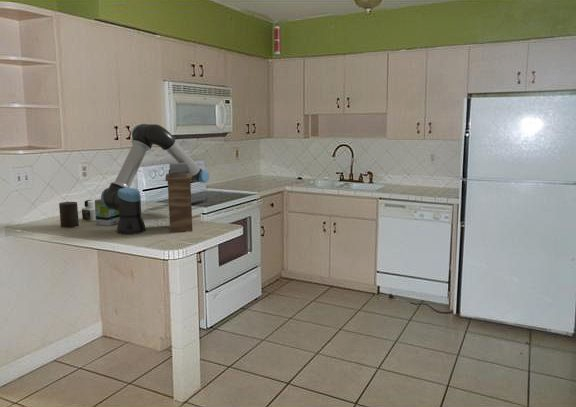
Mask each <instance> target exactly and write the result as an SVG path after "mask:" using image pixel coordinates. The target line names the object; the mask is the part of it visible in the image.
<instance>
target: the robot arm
mask: <svg viewBox="0 0 576 407" xmlns="http://www.w3.org/2000/svg"><path fill="white" fill-rule="evenodd" d="M131 138H132V139H131V145H132V146H131V147H130V149H129V152H128V154H127V155H126V158H125V160H124V162H123V164H122V166H121V169H119V173H118V174H117V177H116V178H115V180H114V181H113V182H112V181H111V182H110V184H109V186H108V187H107V188H105V189H104V190H103V191H102V192H101V195H100V199H101V201H102V204H103V205H104V206H105V207H107V208H109V209H112V210H118V211H119V222H118V223H117V227H116V233H117V232H118V233H117V234H120V233H121V234H120V235H135V234H134V233H136V234H140V233H139V232H141V233H144V232H145V231H146V230H147V229H146V224H145V221H144V219H143V216H142V203H141V202H142V201H141V198H142V197H141V191H140V190H139V189H137V188H131V185H132V184H133V181H134V179H135V177H136V175H137V173H138V170H139V169H140V166H141V164H142V161H143V160H144V158H145V155H146V153H147V152H149V151H150V150H151V149H152V147H153V146H154V145H155V146H157V147H159V148H161V149H162V150H163V151H166V152H167V153H168V154H170V156H171V157H172V158H173V159H174V160H175V161H176V163H186V164H187V173H191V175H192V180H190V182H196V183H201V184H202V183H205V184H206V183H207V182H208V181H209V180H210V174H209V172H208V171H206V170H203V169H202V168H201V167H200V166H199V165H198V164H197V163H196V162H195V160H193V159H192V157H191V156H190V155H189V154H188V153H187V152H186V151H185V150H184V148H182V147H181V145H180V144H179V143H177V140H176V138H175V137H174V135H173V134H172V133H171V132H169V130H167V129H166V128H165V127H164V126H162V125H159V124H156V123H155V124H153V123H152V124H149V123H141V124H137V125H136V126H134V127H133V129H132V131H131ZM167 174H170V169H169V170H168V173H167ZM143 231H144V232H143Z"/></svg>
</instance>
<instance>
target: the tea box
mask: <svg viewBox="0 0 576 407" xmlns="http://www.w3.org/2000/svg"><path fill="white" fill-rule="evenodd" d="M94 201H95V217H96V220H95V225H98V226H106V227H110V226H113V225H116V224H118V222H119V211H118V210H112V209H109V208H107V207H105V206H104V205H103V204H102V201H101V198H99V199H95V200H94Z"/></svg>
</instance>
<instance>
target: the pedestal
mask: <svg viewBox="0 0 576 407" xmlns="http://www.w3.org/2000/svg"><path fill="white" fill-rule="evenodd" d="M190 180H192V175H191V173H187V177H170V174H168V173H166V174H165V182H167V194H168V195H167V196H168V197H167V198H168V212H169V214H168V216H169V232H170V233H183V232H186V231H188V232H193V212H192V191H191V190H192V189H191V188H192V187H191V185H192V184H191V181H190Z"/></svg>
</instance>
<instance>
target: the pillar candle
mask: <svg viewBox="0 0 576 407" xmlns="http://www.w3.org/2000/svg"><path fill="white" fill-rule="evenodd" d="M58 205H59V206H58V207H59V208H58V209H59V221H60V222H59V223H60V228H62V229H63V228H64V229H71V228H77V227H79V226H80V222H79V221H80V220H79V210H78V209H79V208H78V202H77V201H64V202H59V203H58Z"/></svg>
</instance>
